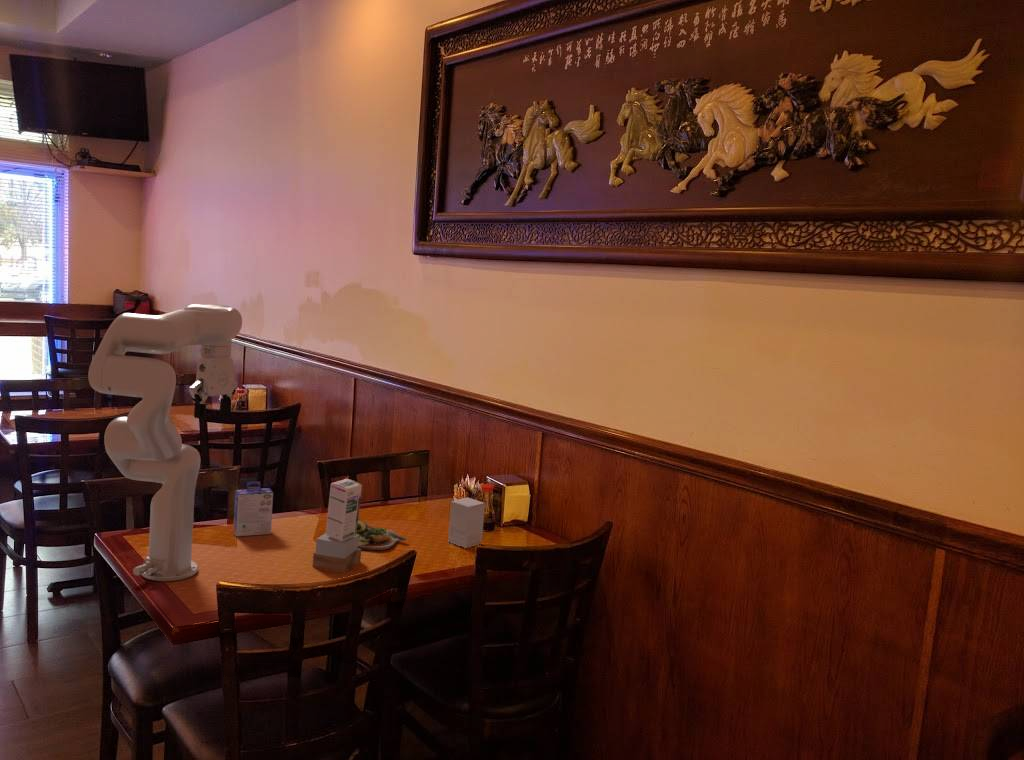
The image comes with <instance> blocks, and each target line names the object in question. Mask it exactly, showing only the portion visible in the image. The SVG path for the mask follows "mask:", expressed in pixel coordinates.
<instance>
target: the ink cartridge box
mask: <svg viewBox="0 0 1024 760" xmlns="http://www.w3.org/2000/svg"><path fill="white" fill-rule="evenodd" d="M253 484H254V485H257V486H250V485H253ZM273 501H274V491H273V490H272V489H271V488H270V487H266V488H265V487H264V488H262V487H261V481H259V480H258V481H257V480H256V481H246V489H236V490H235V491H234V510H233V511H234V513H233V515H234V517H233V528H232V532H233V534H234V536H235V537H247V536H257V535H258V536H259V535H270V534H272V520H273V503H274V502H273Z"/></svg>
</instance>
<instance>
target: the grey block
mask: <svg viewBox="0 0 1024 760" xmlns="http://www.w3.org/2000/svg"><path fill="white" fill-rule="evenodd" d="M358 536H359V535H358V534H356V536H355V537H352V538H349V539H347V540H344V541H342V542H341V541H338V540H336V539H333V538H331V537H329V536H327V535H326V532H325V533H323V534H322V535H320V536H319V537H317V538H316V544H315V552H316V554H319V555H325V556H331V557H336V558H342V559H345V558H347V557H348V556H349V555H351V554H352V553H353V552H355V551H356V550H357V549H358Z"/></svg>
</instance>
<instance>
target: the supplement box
mask: <svg viewBox="0 0 1024 760" xmlns="http://www.w3.org/2000/svg"><path fill="white" fill-rule="evenodd" d="M485 508H486V502H483V501H480V500H477V499H475V498H471V497H463V498H459V499H454V500H451V502H450V510H449V511H450V512H449V513H450V514H449V525H448V539H447V543H449V542H451V543H450V544H452V543H453V544H452V545H454V544H456V545H455V546H457V545H458V546H457V547H460V546H462V547H464V548H463V549H465V548H467V547H470V548H472V547H471V546H473V545H475V544H476V545H477V546H480V545H479V544H478V543H481V542H483V532H484V519H485ZM476 545H475V546H474V547H476ZM462 547H461V548H462ZM467 549H468V548H467Z"/></svg>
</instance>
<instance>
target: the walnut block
mask: <svg viewBox="0 0 1024 760" xmlns="http://www.w3.org/2000/svg"><path fill="white" fill-rule="evenodd" d="M361 557H362V549H359V548H358V549H357V550H356V551H355V552H353V553H352V554H351V555H349V556H348V557H347V558H345V559H342V558H336V557H331V556H325V555H319V554H316V551H315V552H313V556H312V568H316V569H322V570H327V571H331V572H337V573H342V574H346V573H347V572H348V571H350V570H352V569H353V568H354V567H355V566H357V565H358V564H360V563H361V559H362V558H361Z"/></svg>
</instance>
